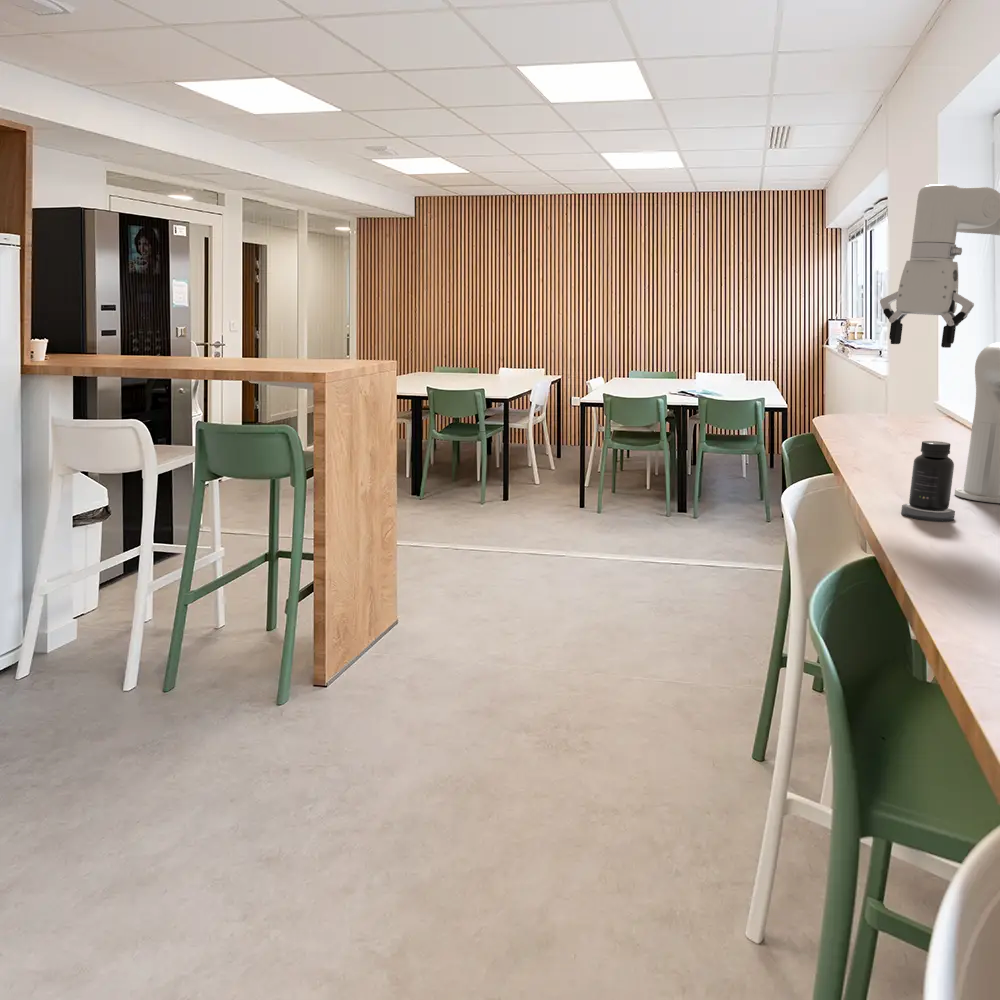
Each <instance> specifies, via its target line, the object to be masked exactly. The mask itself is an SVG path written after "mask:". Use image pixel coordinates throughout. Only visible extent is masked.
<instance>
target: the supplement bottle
mask: <svg viewBox="0 0 1000 1000" xmlns="http://www.w3.org/2000/svg"><path fill="white" fill-rule="evenodd" d="M920 452H921V454H920V455H918V456H916V457H915V458H914V460H913V464H912V473H911V481H910V482H911V483H910V489H909V490H910V491H909V498H908V499H909V500H908V504H910V506H912V507H914V508H918V509H924V510H934V511H942V510H946V509H948V508H949V507H950V500H951V495H952V485H953V478H954V469H955V468H954V467H955V463H954V461H953V459H951V458H950V457H949V455H950V454H951V443H950V442H947V441H946V442H945V441H940V440H939V441H938V440H924V441H921V448H920Z"/></svg>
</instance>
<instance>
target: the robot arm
mask: <svg viewBox="0 0 1000 1000" xmlns="http://www.w3.org/2000/svg"><path fill="white" fill-rule="evenodd" d="M916 201H917V202H916V209H915V215H914V224H913V233H912V240H911V242H912V243H911V248H910V249H911V250H910V256H909V260H906V261H905V263H904V267H903V270H902V273H901V277H900V281H899V283H898V290H897V291H895V292H893V293H891V294H889V295H888V296H884V297H882V298H880V300H879V304H880V305H881V309H882V312H883V314H884V316H885V317H886V318H887V320H888V321H889V323H890V330H889V334H888V335H889V336H888V337H889V340H890V344H891V345H899V344H901V341H902V335H903V334H902V333H903V328H904V327H903V326H904V325H903V323H901V322H902V321H903V319H904V318H905V317H907V315H910V314H912V315H928V316H941V317H942V319H943V320H944V321H945V323H946V325H944V326H943V331H942V337H941V338H942V339H941V343H940V345H941V348H946V349H948V348H951V347H952V344H954V343H955V342H954V341H955V336H956V330H957V329H956V328H957V326H959V325H960V324H961V323H962V322H964V320H965V319H966V318H968V315H969V314H970V313H971V311H972V309H973V308H974V306H975V303H974V302H973V301H971V300H969V299H968V298H966V297H965V296H963V295H961V294H959V264H958V261H954V260H955V257H957V256H961V255H962V253H963V249H962V247H958V246H957V244H956V241H957V240H956V239H957V233H965V234H977V235H978V234H980V235H992V236H1000V192H999V191H998V190H996V189H994V188H993V187H988V186H975V187H973V186H972V187H959V186H957V185H953V184H952V185H951V184H929V185H925V186H923V187H921V188H920V190H919V191H918V195H917V200H916ZM892 302H896V303H895V308H896V311H894V310H893V308H892V307H891V303H892ZM958 304H959V305H961V309H960V311H958V313H956V310H957V306H958ZM955 313H956V315H955ZM974 378H975V404H974V412H973V419H972V426H971V433H970V434H971V435H970V439H969V440H970V441H969V447H968V454H967V461H966V467H965V474H964V482H963V486H962V487H956V488H955V489H954V495H955V496H957V497H959V498H962V499H966V500H971V501H976V502H982V503H983V502H984V503H991V504H1000V341H999V342H994V343H990V344H988V345H987V346H986V347H984V348H983V349H982V350H981V351H980V352H979V353H978V355H977V358H976V360H975V365H974Z"/></svg>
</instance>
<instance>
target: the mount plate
mask: <svg viewBox="0 0 1000 1000" xmlns="http://www.w3.org/2000/svg"><path fill="white" fill-rule="evenodd" d="M900 511H901V512H900V514H901V515H902V516H904V517H908V518H911V519H916V520H921V521H927V522H929V521H930V522H938V523H939V522H945V523H946V522H953V521H954V520H955V515H956V514H955V513H956V510H954V509H952V508H949V507H948V509H946V510H942V511H934V510H924V509H918V508H914V507H912V506H910V504H909V503H905V504H902V505H901V509H900Z"/></svg>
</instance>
